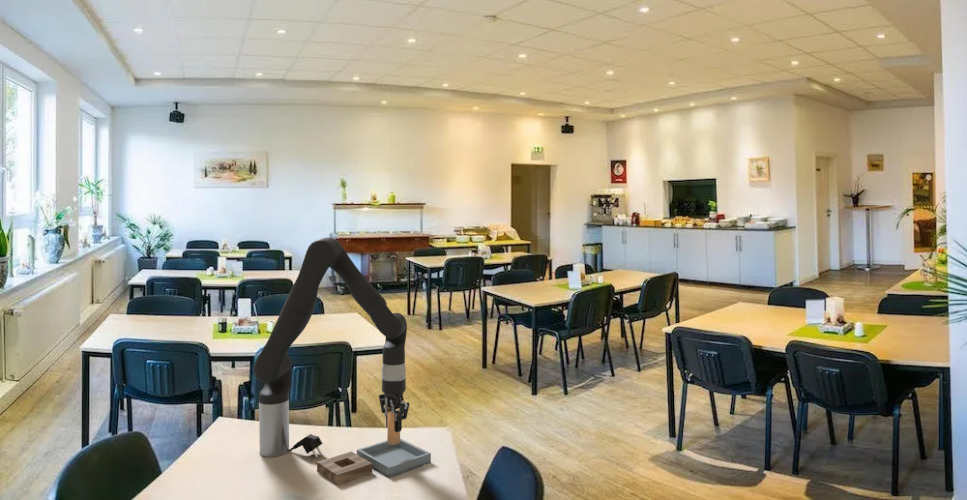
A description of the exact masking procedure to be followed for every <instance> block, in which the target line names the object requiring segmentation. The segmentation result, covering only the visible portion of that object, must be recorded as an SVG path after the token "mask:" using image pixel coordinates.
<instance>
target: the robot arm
mask: <svg viewBox="0 0 967 500" xmlns="http://www.w3.org/2000/svg"><path fill="white" fill-rule="evenodd" d="M329 268H330V269H331V270H332V271H333V272H335V273H336V274H337V275H338V277H340V278H341V280H342V281H343V283H344V284H345V286H346V288H347V290H348V291H349V293H350V295H351V296H352V298H353V300H354V301H355V303H357V304H358V305H359V307H360V308H361V309H363V311H364V312H365V313H366V314H367V315H368V317H370V319H371V321H372V322H373V324H374V326H375V327H376V329H377V330H378V331H379V332H380V333H381V334H382V335H383V336H384V337H385V342H384V345H383V348H382V365H381V366H382V367H381V391H382V392H383V393H381V394H379V395H378V399H379V405H380V411H381V413H382V414H384V416H385V426H386V427H385V428H387V429H388V411H389V410H392V413H393V414H394V418H395V421H394V424H395V432H400V433H401V431H402V429H403V428H402V427H403V425H402V424H403V420H406V419H407V417H408V413H409V408H410V402H409V401H408V402H406V401H405V400H404V399H405V397H404V393H405V392H406V389H407V381H406V380H407V379H406V378H407V377H406V375H407V373H406V372H407V369H406V368H407V367H406V348H405V346H406V339H407V330H408V326H407V325H408V323H407V319H406V318H405V316H404V315H403V314H401V312H392V311H391V309H390V308H389V307H388V302H387V300H386V299H385V298H384V297H383V296H382V295H381V293H379V291H378V290H377V289H376V288H375V287H374V286H373V285H372V284H371V283H370V282H369V281H368V279H366V277H365V276H364V275H363V273H362V272H361V271H360V270H359V268H358V267H357V265H355V263H354V262H353V260H352V259H351V258H350V256H349V255H348V253H347V251H346V250H345V248H344V247H343V246H342V244H341V243H340V241H338V240H337V239H336V238H333V237H322V238H319V239H315V240H314V241H312V242H311V243H310V244H309V245H308V247H307V249H306V251H305V255H304V258H303V261H302V264H301V267H300V269H299V273H298V276H297V278H296V279H295V281H294V283H293V285H292V287H291V289H290V291H289V294H288V296H287V298H286V300H285V301H284V304H283V306H282V309H281V310H280V313H279V315H278V317H277V320H276V322H275V324H274V326H273V328H272V331H271V333H270V336H269V338H268V340H267V342H266V343H265V345H264V347H262V350H261V351H260V353H259V355H258V357H257V358H256V360H255V361H254V364H253V373H254V377H255V378H256V380H257V381H258V382H260V383H261V384H264V385H263V387H262V389H261V390H260V391H259V394H258V409H259V410H258V415H259V416H258V418H259V420H258V421H259V422H258V426H259V429H258V430H259V432H258V433H259V454H260V455H261V456H263V457H270V458H271V457H272V458H273V457H279V456H281V455H282V456H283V455H285V454H287V453H288V452H289V451H288V450H289V449H290V412H289V411H290V409H289V408H290V407H289V405H290V401H289V399H290V398H289V397H290V392H291V390H292V377H293V376H292V375H293V374H292V373H293V372H292V370H293V369H292V367H293V366H292V359H291V357H290V355H289V354H288V351H289V349H290V347H291V346H292V344H294V343H295V341H296V340H297V339H298V338H299V337H300V335H301V334H302V333H303V331H304V330H305V328H306V327H307V326H308V324H309V322H310V320H311V318H312V316H313V314H314V311H315V309H316V306H317V300H318V291H319V287H320V284H321V282H322V280H323V279H324V277H325V274H326V273H327V271H328V270H329ZM397 413H399V416H398V415H397Z"/></svg>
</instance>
